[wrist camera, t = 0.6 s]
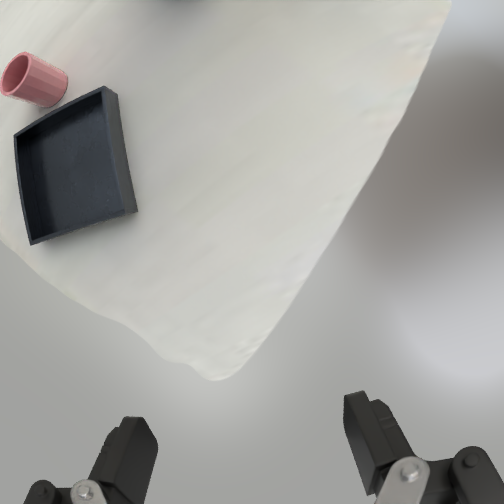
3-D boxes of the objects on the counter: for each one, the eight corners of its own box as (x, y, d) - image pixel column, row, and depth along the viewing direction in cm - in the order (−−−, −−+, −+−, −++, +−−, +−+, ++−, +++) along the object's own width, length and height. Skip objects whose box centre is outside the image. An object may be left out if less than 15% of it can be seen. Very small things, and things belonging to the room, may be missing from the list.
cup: (38, 81, 31) (1, 66, 21) (67, 64, 31) (32, 43, 21) (38, 114, 32) (-2, 103, 22) (68, 97, 32) (29, 80, 22)
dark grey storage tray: (29, 137, 33) (13, 135, 29) (117, 94, 32) (104, 85, 28) (46, 240, 37) (30, 245, 32) (138, 211, 36) (125, 214, 32)
